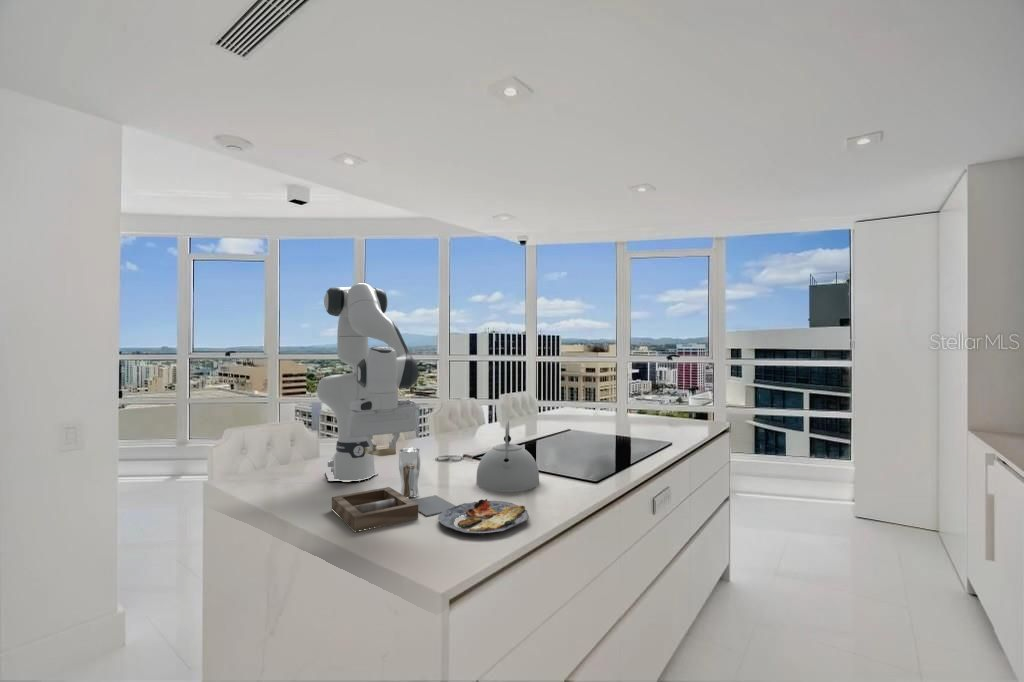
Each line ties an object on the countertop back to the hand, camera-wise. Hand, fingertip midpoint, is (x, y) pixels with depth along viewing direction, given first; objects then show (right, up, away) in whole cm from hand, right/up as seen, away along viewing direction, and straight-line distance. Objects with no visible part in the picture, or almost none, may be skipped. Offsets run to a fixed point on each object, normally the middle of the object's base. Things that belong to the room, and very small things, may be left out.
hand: (382, 449), depth 144 cm
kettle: (+36, -20, +33) cm, 52 cm away
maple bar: (-1, -1, +2) cm, 2 cm away
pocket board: (-3, -19, +1) cm, 19 cm away
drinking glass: (+4, -20, +19) cm, 28 cm away
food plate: (+30, -19, -5) cm, 36 cm away
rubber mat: (+13, -19, +8) cm, 24 cm away
